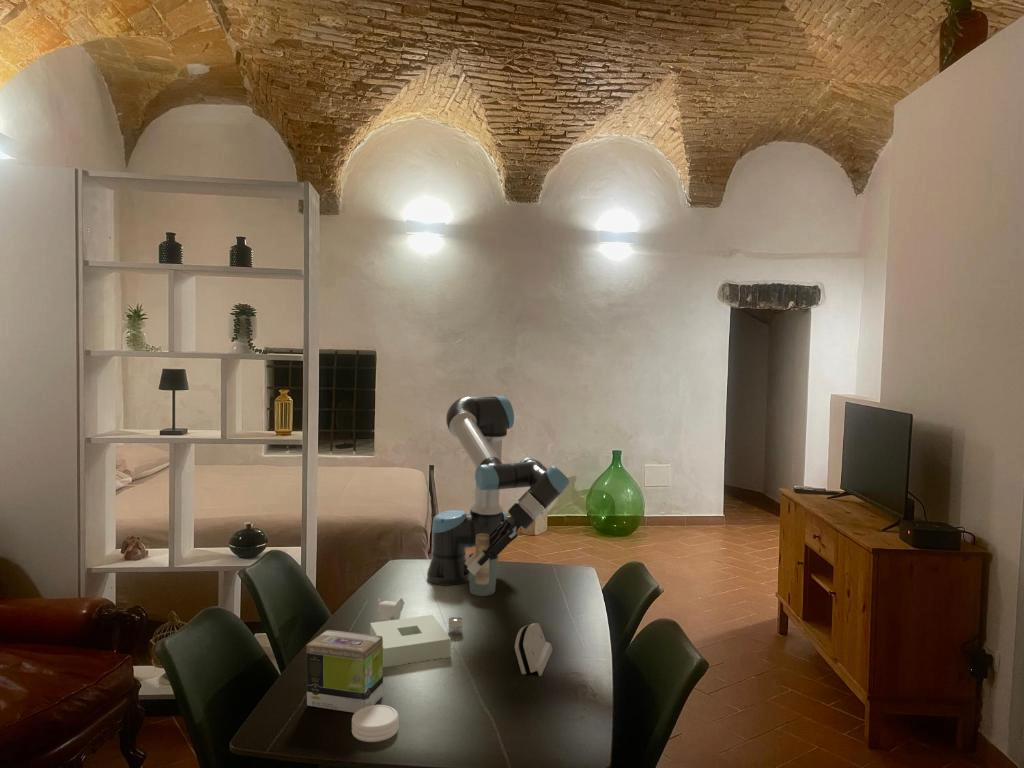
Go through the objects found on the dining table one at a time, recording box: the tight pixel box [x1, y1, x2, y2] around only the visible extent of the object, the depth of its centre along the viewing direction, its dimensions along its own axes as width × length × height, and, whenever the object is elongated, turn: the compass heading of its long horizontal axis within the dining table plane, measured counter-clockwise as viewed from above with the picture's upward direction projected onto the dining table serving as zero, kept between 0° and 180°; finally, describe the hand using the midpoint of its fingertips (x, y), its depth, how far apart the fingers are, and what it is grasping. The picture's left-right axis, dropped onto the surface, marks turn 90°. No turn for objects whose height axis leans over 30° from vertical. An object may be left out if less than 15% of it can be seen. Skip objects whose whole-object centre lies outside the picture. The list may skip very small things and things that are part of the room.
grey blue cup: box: [467, 552, 499, 597], centre depth 247 cm, size 10×10×12 cm
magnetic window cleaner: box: [514, 622, 554, 677], centre depth 195 cm, size 17×5×10 cm, turn 166°
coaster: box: [351, 704, 400, 743], centre depth 160 cm, size 10×10×4 cm
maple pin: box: [475, 533, 490, 585], centre depth 214 cm, size 4×4×14 cm
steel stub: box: [447, 616, 463, 637], centre depth 213 cm, size 4×4×4 cm
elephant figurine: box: [376, 595, 405, 622], centre depth 220 cm, size 8×10×7 cm
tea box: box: [305, 629, 384, 714], centre depth 172 cm, size 15×10×15 cm
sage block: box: [369, 614, 452, 668], centre depth 201 cm, size 18×18×5 cm
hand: (469, 569), depth 214 cm, fingers closed on maple pin, 4 cm apart
